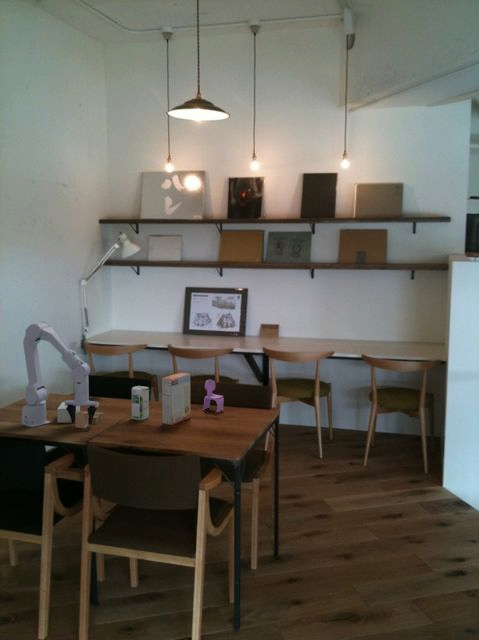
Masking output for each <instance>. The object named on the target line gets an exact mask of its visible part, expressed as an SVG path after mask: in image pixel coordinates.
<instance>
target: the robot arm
mask: <svg viewBox="0 0 479 640" xmlns="http://www.w3.org/2000/svg"><path fill="white" fill-rule="evenodd" d="M41 341H45V342H49V343H50V344H51V345H52V346H53V347H54V349H56V351H58V352H59V353H60V355H61V360H62V361H63V362H64V363H65V364H66V365H67V367H68V368H69V369H70V370H71V374H72V376H73V377H74V400H73V399H72V400H71V399H70V400H68V399H67V400H65V401H64V402H65V406H67V407H66V409H67V411H68V413H69V415H70V417H71V421H72V423H71V424H74V423H76V422H75V413H76V406H80V407H88V408H87V412H88V415H89V423H88V425H91V423H92V421H93V416H94V414H95V412H97V409H98V407H100V402H99V401H92V400H89V395H90V394H89V391H90V389H89V382H90V381H89V374H90V373H91V366H90V364H89V363H88V362H86V361H85V362H84V360H82V359H81V358H80V357H79V356H78V354H77V351H76V350H73V349H68V347H67V346H66V344H65V343H63V341H62V340H61V338H60V337H59V335H57V333H56V332H55V329H54V328H53V327H52V326H51V325H50V323H48V322H47V321H41V322H39V323H32V324H30V325H29V326H27V328H26V329H25V335H24V338H23V342H22V343H23V345H22V346H23V351H24V357H25V358H24V360H25V367H26V374H27V380H28V383H27V385H26V386H25V395H24V399H25V401H26V403H27V404H26V405H24V406H23V407H22V410H21V423H20V424H21V425H24V426H25V427H29V428H35V427H38V426H42V425H47V424H51V421H49V420H47V399H48V397H49V394H50V393H49V390H48V388H47V385H46V383H45V381H43V378H42V371H41V370H42V369H41V364H40V357H39V356H40V355H39V351H38V350H39V349H38V344H39V343H40V342H41Z"/></svg>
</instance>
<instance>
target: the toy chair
mask: <svg viewBox="0 0 479 640" xmlns="http://www.w3.org/2000/svg"><path fill="white" fill-rule="evenodd" d="M204 389H205V390H206V393H207V394H206V396H204V399H203V407H202V409H201V411H202V410H204V411H206V410H205V409H207V408H209V407H211V406H210V405H211V401H215V402H216V406H217V407H216V408H217V409H216V412H219V411H221V410H223V411H224V403H225V402H224V401H225V399H224V396H223V395H220V394H215V393H213V391H214V390H216V381H215V380H213V379H207V380H206V381H205V383H204ZM207 410H208V409H207ZM216 412H215V413H216ZM219 413H220V412H219Z"/></svg>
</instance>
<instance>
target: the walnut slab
mask: <svg viewBox="0 0 479 640" xmlns="http://www.w3.org/2000/svg"><path fill="white" fill-rule="evenodd" d="M104 418H105V412H101V411H100V412H97V411H95V414H94V416H93V421H92V423H91V424H92V425H97V424H99V423H100V422H101V421H102V420H104ZM88 424H89V415H88ZM91 424H90V425H91Z"/></svg>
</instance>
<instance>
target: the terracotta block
mask: <svg viewBox="0 0 479 640" xmlns="http://www.w3.org/2000/svg"><path fill="white" fill-rule="evenodd" d="M75 420H76V422H75V428H77V429H86V428H87V427H88V426H89V423H88V411H80V412H78V413H76V414H75Z"/></svg>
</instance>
